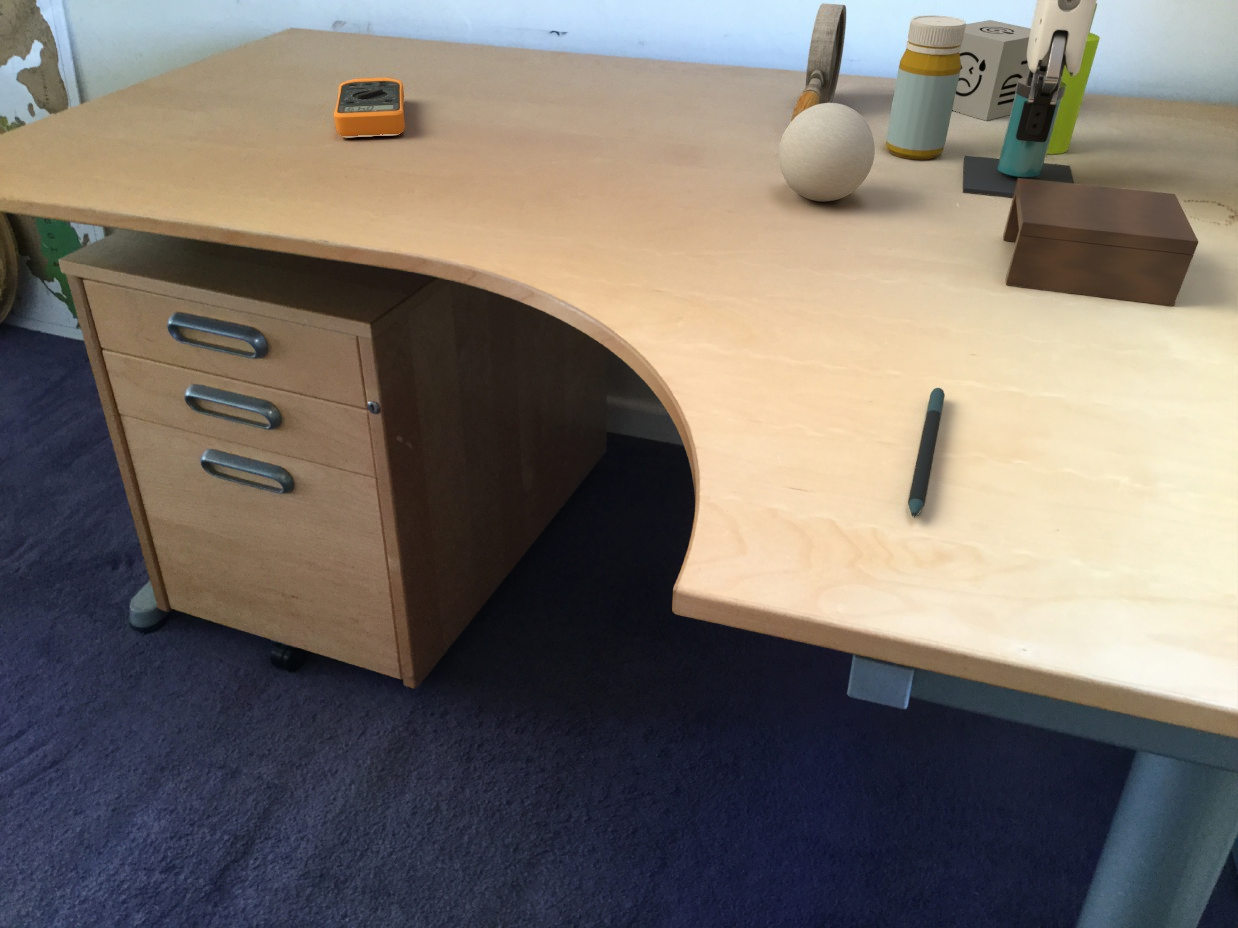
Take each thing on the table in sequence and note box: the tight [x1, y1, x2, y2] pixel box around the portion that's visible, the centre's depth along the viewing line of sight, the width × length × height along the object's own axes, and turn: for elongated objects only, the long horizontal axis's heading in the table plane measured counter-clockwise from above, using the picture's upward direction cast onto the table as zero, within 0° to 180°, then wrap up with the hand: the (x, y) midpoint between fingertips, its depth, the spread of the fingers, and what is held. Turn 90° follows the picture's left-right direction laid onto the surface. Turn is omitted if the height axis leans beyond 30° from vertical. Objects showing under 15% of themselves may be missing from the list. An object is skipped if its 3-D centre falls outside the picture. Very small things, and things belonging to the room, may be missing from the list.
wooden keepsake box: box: [1002, 178, 1200, 307], centre depth 87 cm, size 14×12×6 cm
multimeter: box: [333, 77, 406, 137], centre depth 125 cm, size 9×18×3 cm, turn 11°
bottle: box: [885, 14, 967, 161], centre depth 112 cm, size 7×7×15 cm
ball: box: [778, 102, 876, 202], centre depth 100 cm, size 10×10×10 cm
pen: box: [907, 387, 946, 519], centre depth 63 cm, size 1×16×1 cm, turn 159°
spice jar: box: [997, 77, 1066, 177], centre depth 105 cm, size 5×5×10 cm
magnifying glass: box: [789, 3, 847, 124], centre depth 126 cm, size 13×3×25 cm
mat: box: [962, 154, 1075, 198], centre depth 108 cm, size 12×12×1 cm
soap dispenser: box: [1046, 2, 1101, 155], centre depth 112 cm, size 6×7×20 cm
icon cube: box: [952, 19, 1031, 122], centre depth 130 cm, size 10×10×10 cm
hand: (1029, 131), depth 105 cm, fingers closed on spice jar, 4 cm apart
